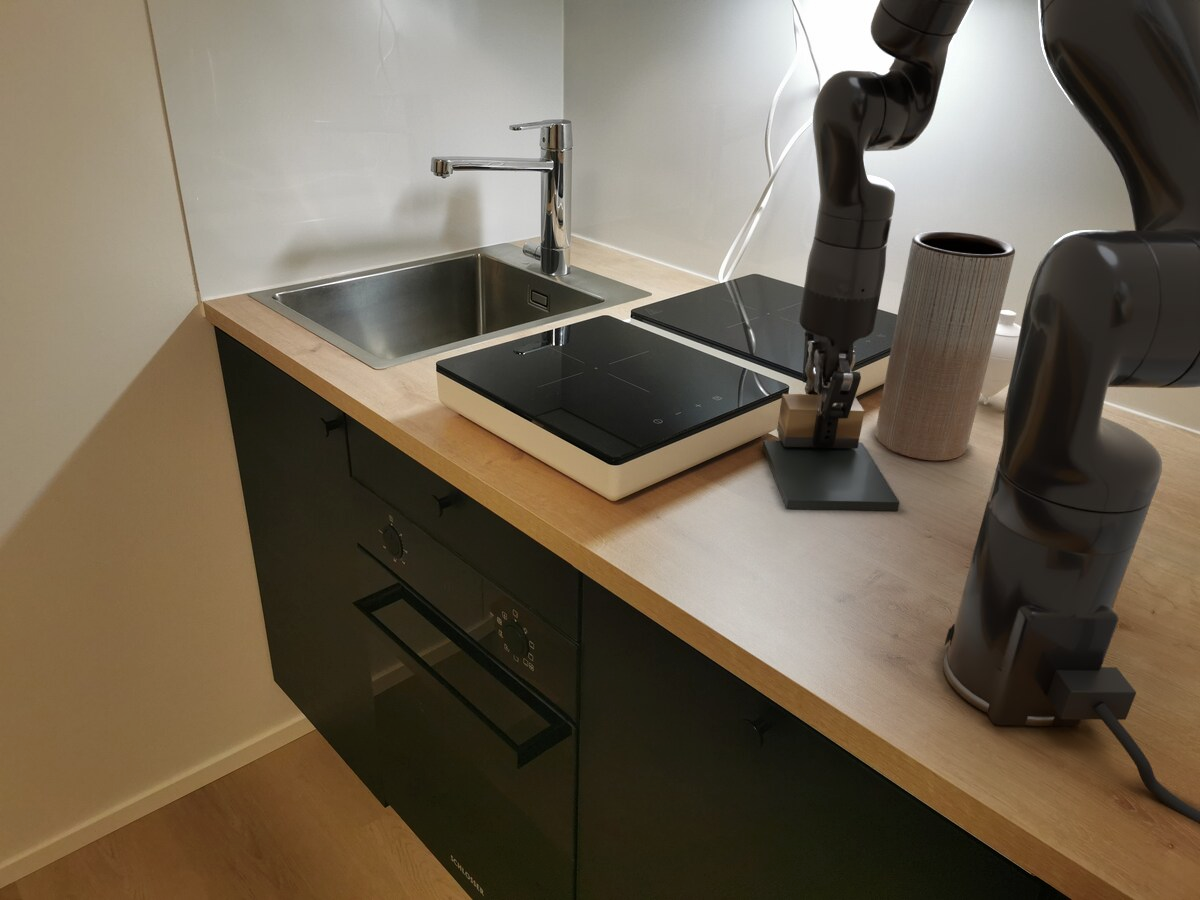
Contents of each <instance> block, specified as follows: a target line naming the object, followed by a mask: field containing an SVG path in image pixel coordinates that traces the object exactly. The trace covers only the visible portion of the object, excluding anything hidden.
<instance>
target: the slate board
mask: <svg viewBox="0 0 1200 900" xmlns="http://www.w3.org/2000/svg"><path fill="white" fill-rule="evenodd" d="M762 451H763V453H764V456H765V458H766V460H767V464H768V465H769V468H770V471H771V474H772V475H773V478H774V480H775V483H776V486H777V488H778V490H779V494H780V495H781V498H782V501H783V503H784V506H785V508H786V509H787V510H830V511H831V510H832V511H833V510H835V511H836V510H837V511H883V512H885V511H888V512H889V511H890V512H891V511H892V512H898V511H899V507H900V501H899V499H898V497H897V496H896V494H895V492H894V491H893V490H892V488H891V486H890V484H889V483H888V481H887V479H886V478H885V476H884V475H883V473H882V472H881V470H880V468H879V467H878V465H877V464H876V462H875V460H874V458H873V457H872V456H871V454H870V453H869V450H867V447H866V446H865V445H864V443H863V442H861V441H859V443H858V448H814V447H784V445H783V443H782V441H778V440H763V441H762Z"/></svg>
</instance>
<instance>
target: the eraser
mask: <svg viewBox="0 0 1200 900" xmlns="http://www.w3.org/2000/svg"><path fill="white" fill-rule="evenodd" d="M833 405H836V403H834V404H833ZM817 406H818V395H810V394H806V393H805V394H804V393H802V394H801V393H782V394H781V400H780V407H779V413H778V422H777V426H776V427H777V428H776V431H777V435H778V434H779V436H780V438H781V440H782V443H783V445H784V447H814V448H818V447H815V446H814V444H813V435H814V429H815V422H816V416H817ZM864 416H865V409H864V408H863V406H862V404H861V403H860V402H859V401H858V399H857V397H856V396H855V398H854V401H853V404H852V407H851V410H850V413H849V416H848V418H847V419H843V418H839V421H838V426H837V432H836V438H835V443H834V446H833V447H831V448H858V443H859V442H860V437H861V432H862V428H863V423H864Z"/></svg>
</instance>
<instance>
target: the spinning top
mask: <svg viewBox="0 0 1200 900" xmlns="http://www.w3.org/2000/svg"><path fill="white" fill-rule="evenodd" d="M1016 317H1017V312H1015V311H1013V310H1009V309H1001V313H1000V317H999V321H998V325H997V329H996V333H995V337H994V341H993V345H992V349H991V353H990V357H989V361H988V366H987V370H986V374H985V378H984V382H983V386H982V390H981V395H982V396H983V397H984V401H983V404H984V405H987V404H988V401H989V398H992V397H993V396H995V395H997V394H999V392H1001V391H1003V390H1004V389H1006V387H1009V384H1010V379H1011V375H1012V370H1013V365H1014V360H1015V356H1016V350H1017V345H1018V340H1019V335H1020V329H1021V325H1019V324H1017V323H1015V319H1016Z"/></svg>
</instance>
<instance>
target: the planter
mask: <svg viewBox="0 0 1200 900" xmlns="http://www.w3.org/2000/svg"><path fill="white" fill-rule="evenodd" d="M1015 255H1016V249H1015V247H1014V246H1013V245H1011V244H1010V243H1009V242H1007V241H1004V240H1001V239H1000V238H999V239H998V238H995V237H992V236H988V235H982V234H978V233H977V234H976V233H970V232H963V231H951V230H950V231H948V230H947V231H946V230H945V231H944V230H943V231H942V230H939V231H936V230H935V231H934V230H933V231H925V232H921V233H917V234H916V235H915V236H913V237H912V238H911V243H910V248H909V253H908V258H907V259H908V260H907V264H906V268H905V274H904V279H903V285H902V289H901V295H900V301H899V305H898V309H897V316H896V320H895V326H894V331H893V336H892V341H891V347H890V352H889V357H888V363H887V368H886V372H885V373H886V374H885V378H884V382H883V383H884V384H883V389H882V394H881V399H880V404H879V410H878V415H877V420H876V426H875V428H876V429H875V438H876V439H877V440H878V441H879V442H880V444H882V445H883V446H884V448H887V449H888V450H890V451H893V452H894V453H897V454H899V455H902V456H905V457H908V458H912V459H917V460H922V461H923V460H924V461H934V462H935V461H937V462H938V461H939V462H940V461H949V460H953V459H956V458H958V457H961V456H962V455H964V454H965V453H966V451H967V449H968V445H969V442H970V439H971V435H972V431H973V427H974V422H975V418H976V415H977V409H978V405H979V402H980V398H981V395H982V393H981V390H982V386H983V382H984V378H985V374H986V370H987V366H988V361H989V357H990V353H991V349H992V345H993V341H994V337H995V333H996V329H997V325H998V321H999V317H1000V313H1001V310H1003V309H1002V308H1003V304H1004V300H1005V296H1006V292H1007V288H1008V283H1009V280H1010V275H1011V272H1012V267H1013V263H1014V259H1015Z"/></svg>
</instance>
